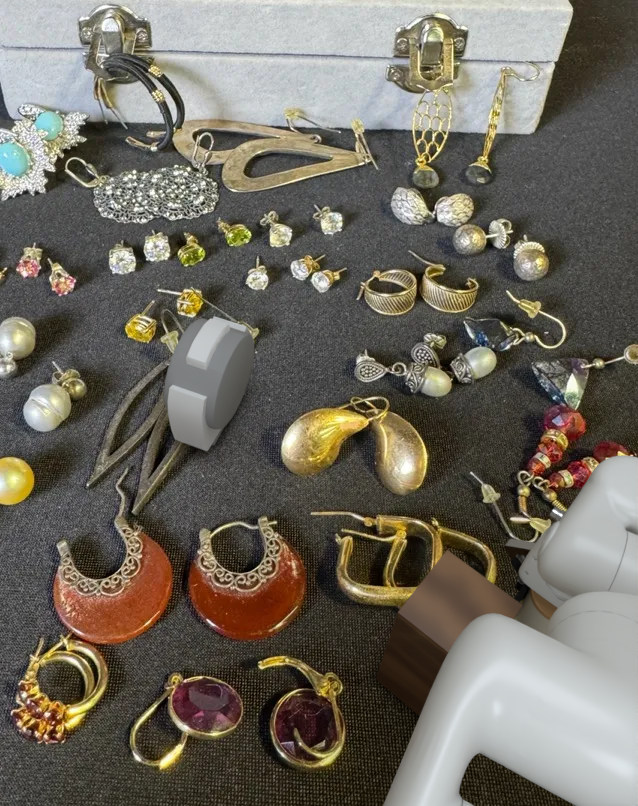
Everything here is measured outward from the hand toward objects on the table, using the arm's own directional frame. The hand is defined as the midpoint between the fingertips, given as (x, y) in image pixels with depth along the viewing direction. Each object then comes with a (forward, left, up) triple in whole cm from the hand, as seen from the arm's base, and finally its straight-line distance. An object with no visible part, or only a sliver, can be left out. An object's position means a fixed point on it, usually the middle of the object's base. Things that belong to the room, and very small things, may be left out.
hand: (548, 610), depth 98 cm
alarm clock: (0, +57, -14) cm, 59 cm away
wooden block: (-11, +7, -14) cm, 19 cm away
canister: (0, 0, -11) cm, 11 cm away
